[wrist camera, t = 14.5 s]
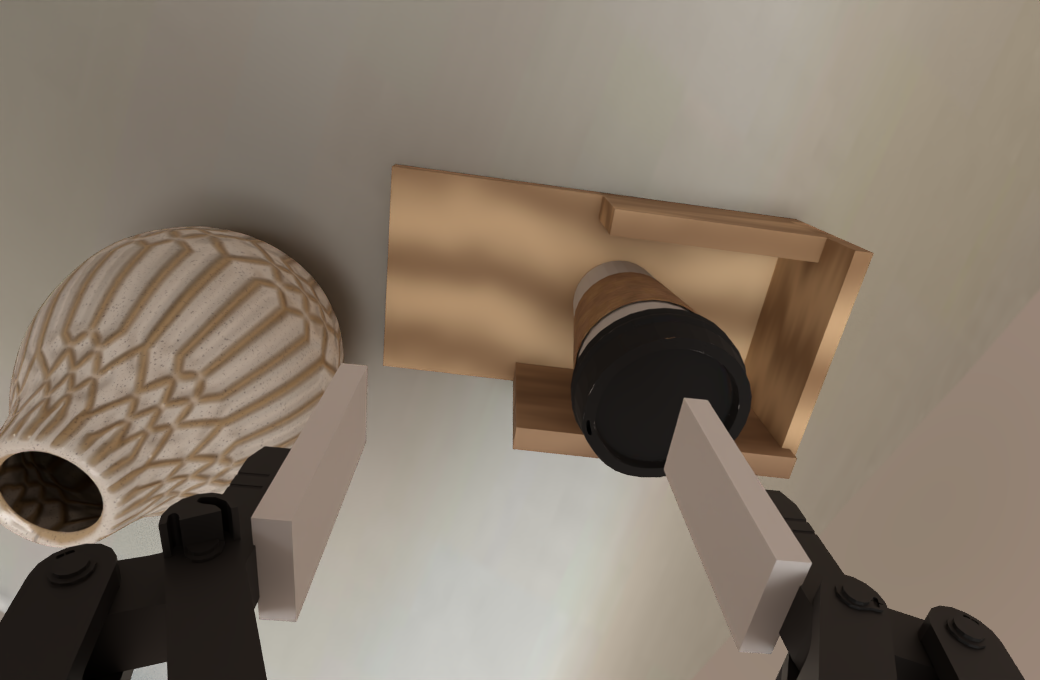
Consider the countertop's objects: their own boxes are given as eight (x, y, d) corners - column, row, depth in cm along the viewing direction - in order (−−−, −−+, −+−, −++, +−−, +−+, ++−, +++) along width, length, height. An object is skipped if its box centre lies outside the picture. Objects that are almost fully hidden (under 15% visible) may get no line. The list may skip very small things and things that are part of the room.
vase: (399, 269, 40) (300, 419, 21) (325, 443, 45) (195, 681, 27) (169, 163, 37) (-177, 231, 18) (120, 363, 42) (-184, 569, 24)
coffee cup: (545, 253, 38) (561, 347, 24) (672, 231, 37) (762, 314, 24) (564, 364, 41) (587, 502, 28) (680, 345, 41) (764, 476, 27)
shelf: (395, 164, 37) (356, 186, 28) (796, 219, 38) (884, 258, 29) (386, 358, 42) (351, 431, 33) (737, 399, 44) (796, 479, 35)
